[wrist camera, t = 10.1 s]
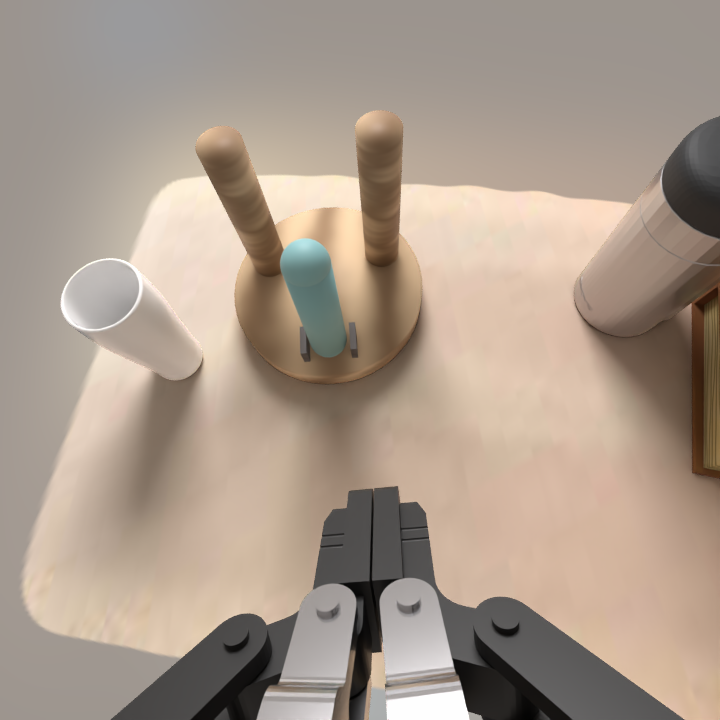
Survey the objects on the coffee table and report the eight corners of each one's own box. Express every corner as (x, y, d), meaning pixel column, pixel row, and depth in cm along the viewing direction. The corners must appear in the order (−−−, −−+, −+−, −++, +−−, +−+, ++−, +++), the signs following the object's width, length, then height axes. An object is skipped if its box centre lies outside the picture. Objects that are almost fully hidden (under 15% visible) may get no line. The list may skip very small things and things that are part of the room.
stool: (410, 216, 55) (421, 60, 37) (430, 375, 48) (457, 282, 30) (244, 231, 56) (173, 86, 37) (241, 391, 49) (152, 309, 30)
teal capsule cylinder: (347, 328, 47) (327, 225, 32) (349, 361, 46) (329, 270, 30) (312, 331, 47) (274, 230, 32) (313, 364, 46) (274, 275, 30)
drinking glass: (220, 337, 51) (156, 265, 37) (197, 395, 49) (121, 341, 35) (164, 324, 52) (82, 249, 38) (140, 380, 50) (43, 322, 36)
